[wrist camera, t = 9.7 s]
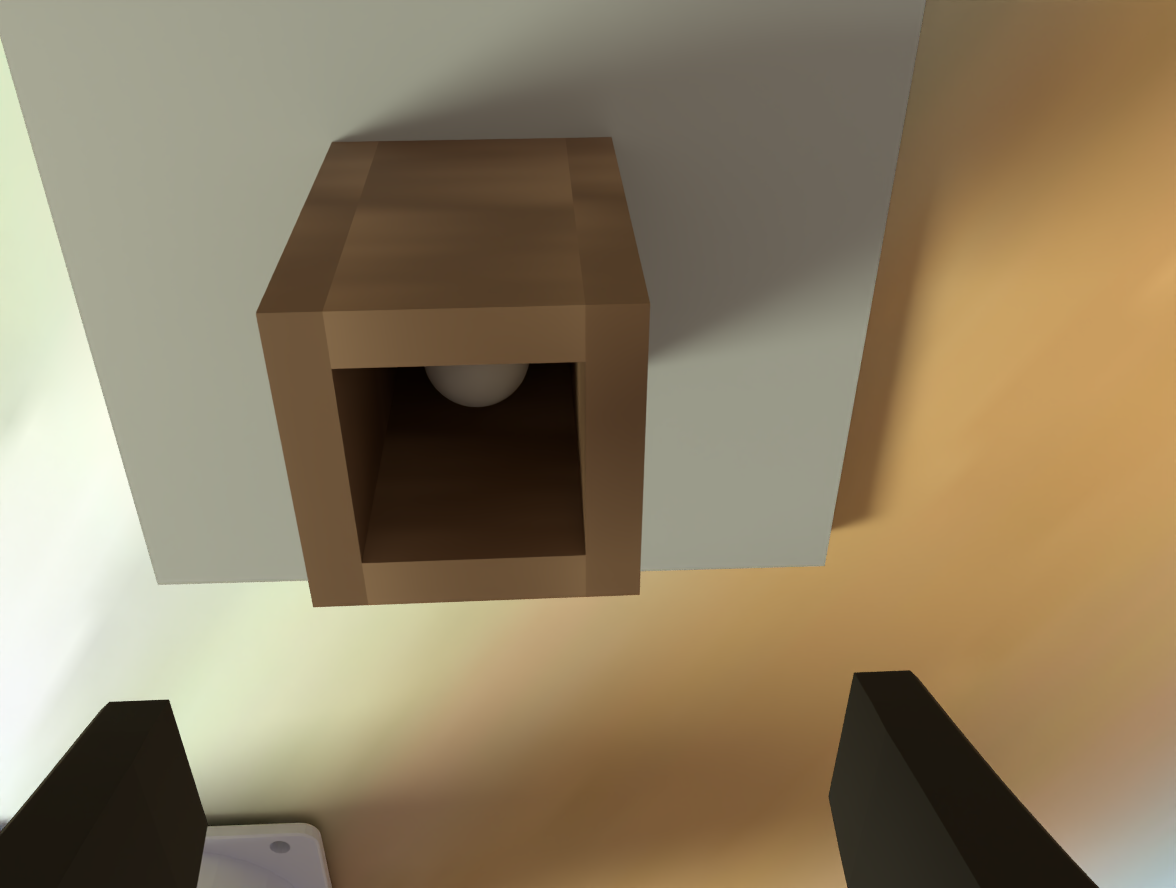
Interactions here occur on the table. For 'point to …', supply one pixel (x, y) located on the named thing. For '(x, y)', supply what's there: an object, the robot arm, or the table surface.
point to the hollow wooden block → (462, 337)
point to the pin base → (467, 112)
